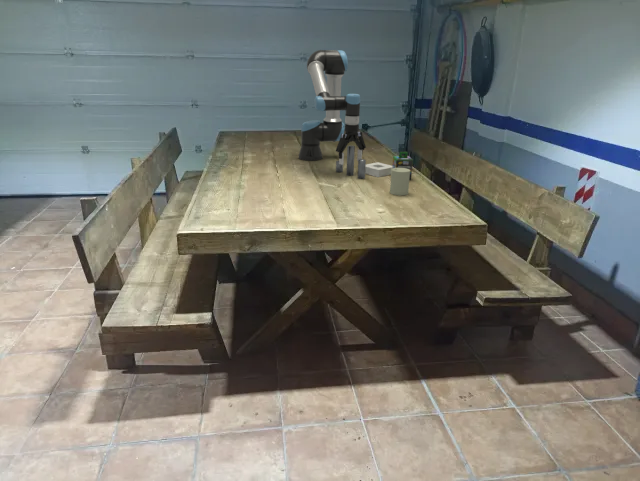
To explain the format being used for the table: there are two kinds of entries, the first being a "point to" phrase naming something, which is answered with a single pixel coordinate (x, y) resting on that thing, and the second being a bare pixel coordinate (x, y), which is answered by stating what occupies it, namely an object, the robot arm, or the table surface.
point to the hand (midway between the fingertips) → (350, 162)
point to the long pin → (350, 160)
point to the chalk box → (403, 162)
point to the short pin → (339, 167)
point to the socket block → (378, 169)
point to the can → (399, 181)
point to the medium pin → (361, 168)
